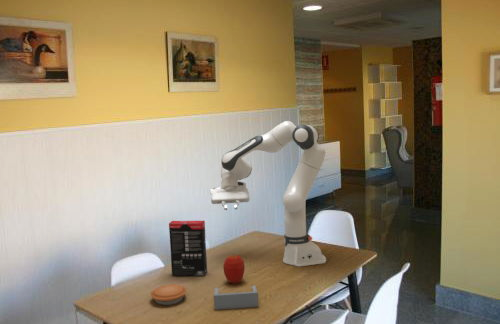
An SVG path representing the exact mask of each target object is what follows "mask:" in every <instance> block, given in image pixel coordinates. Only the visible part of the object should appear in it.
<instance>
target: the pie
mask: <svg viewBox="0 0 500 324" xmlns="http://www.w3.org/2000/svg"><path fill="white" fill-rule="evenodd" d="M187 290H188V289H187V288H186V287H185V286H182V285H179V284H175V283H174V284H171V283H170V284H164V285H161V286H158V287H157V288H154V289H153V290H152V291H151V292H150V297H151V298H152V299H153V300H154V301H155V302H156V303H157V304H158V305H161V304H162V305H161V306H171V305H175V304H178V303H180V302H181V301H182V300H183V298H184V297H185V295H186V293H187Z"/></svg>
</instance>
